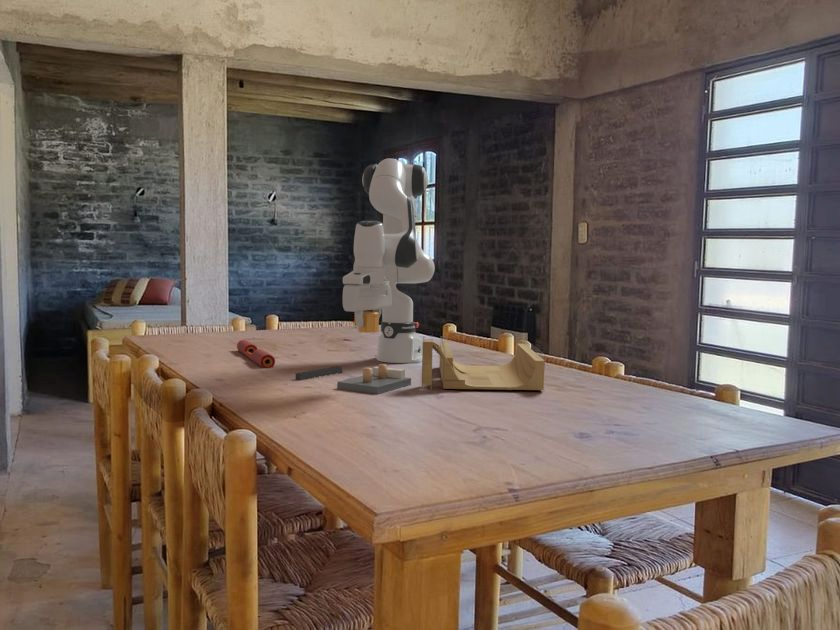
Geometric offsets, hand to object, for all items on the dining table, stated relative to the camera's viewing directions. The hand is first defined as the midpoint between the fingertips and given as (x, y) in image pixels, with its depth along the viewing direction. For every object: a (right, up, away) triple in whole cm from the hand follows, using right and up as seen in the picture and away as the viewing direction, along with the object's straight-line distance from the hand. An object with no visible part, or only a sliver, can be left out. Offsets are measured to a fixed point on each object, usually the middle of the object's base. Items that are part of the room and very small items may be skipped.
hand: (368, 325), depth 212 cm
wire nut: (0, -2, 0) cm, 2 cm away
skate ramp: (+33, -18, +22) cm, 43 cm away
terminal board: (+2, -18, +5) cm, 19 cm away
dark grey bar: (-12, -15, +20) cm, 28 cm away
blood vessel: (-44, -13, +53) cm, 71 cm away
